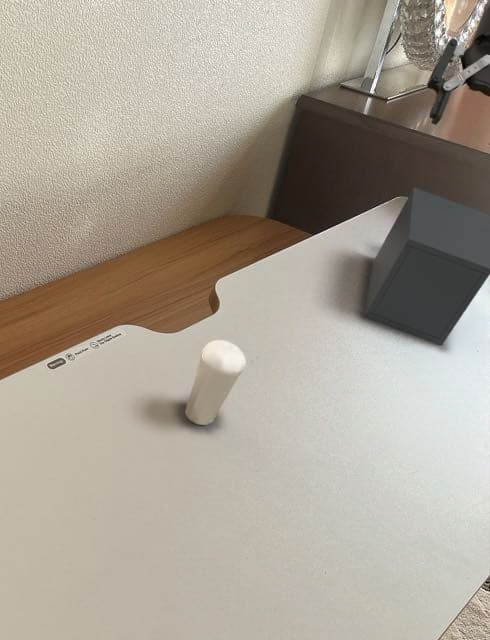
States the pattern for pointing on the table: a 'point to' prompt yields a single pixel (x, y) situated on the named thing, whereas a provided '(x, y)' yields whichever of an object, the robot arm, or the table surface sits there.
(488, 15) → the robot arm
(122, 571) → the table surface
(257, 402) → the table surface
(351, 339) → the table surface
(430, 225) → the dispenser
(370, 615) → the table surface
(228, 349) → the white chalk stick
